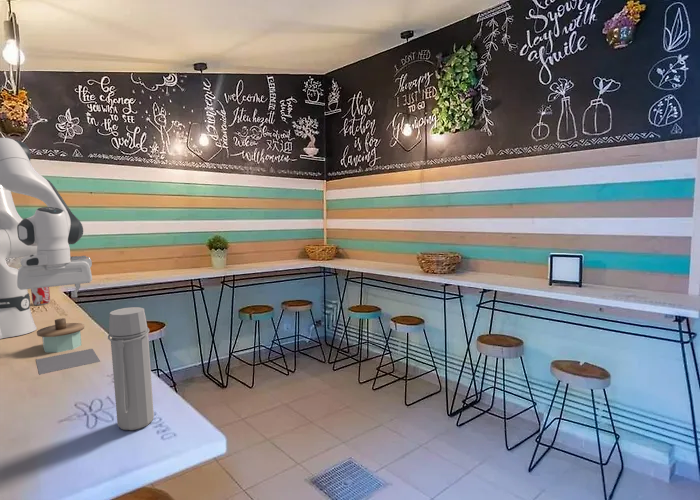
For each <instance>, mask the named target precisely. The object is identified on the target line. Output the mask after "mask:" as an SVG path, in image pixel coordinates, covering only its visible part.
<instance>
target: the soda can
mask: <svg viewBox="0 0 700 500" xmlns="http://www.w3.org/2000/svg"><path fill="white" fill-rule="evenodd" d="M30 292H31V303H32V304H33V305H34V306H44V305H49V303H50V302H51V292H50V287H44V288H37V292H36V293H37V294H38V295H42V299H43V301H42V302H37V297H36V296H35V295H34V294H33V292H32V289H30Z"/></svg>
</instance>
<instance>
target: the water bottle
mask: <svg viewBox="0 0 700 500" xmlns="http://www.w3.org/2000/svg"><path fill="white" fill-rule="evenodd" d="M108 319H109V322H108V323H109V324H108V335H107V340H109V341H110V345H111V346H110V347H111V348H110V349H111V359H112V362H111V363H112V371H113V373H112V374H113V375H112V376H113V385H114V387H113V388H114V398H115V409H116V410H115V411H116V422H117V424H116V425H117V427H119V429H121V430H123V431H136V430H140V429H142V428H144V427H147V426H148V425H150V424H151V423H152V422H153V420H154V417H155V412H154V411H155V410H154V398H153V383H152V369H151V368H152V367H151V358H150V357H151V356H150V355H151V354H150V341H149V340H150V339H149V333H150V328H149V327H148V324H147V323H148V322H147V316H146V313H145V308H144V307H140V306H139V307H138V306H137V307H134V306H133V307H123V308H118V309H115V310H111V311H110V312H109V318H108Z"/></svg>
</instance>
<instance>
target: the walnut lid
mask: <svg viewBox="0 0 700 500" xmlns="http://www.w3.org/2000/svg"><path fill="white" fill-rule="evenodd" d="M84 329H85V324H83V323H80V322H67V320H66V318H63V317H62V318H57V319H54V324H53V325H48V326H46V327H42V328H40V329H38V330H36V335H37V337H40V338H41V337H56V336H63V335H68V334H72V333H76V332H79V331H80V332H81V331H83V330H84Z"/></svg>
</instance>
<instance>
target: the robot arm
mask: <svg viewBox="0 0 700 500" xmlns="http://www.w3.org/2000/svg"><path fill="white" fill-rule="evenodd" d="M31 157H32V156H31V150H30V148H29V146H28V145H27V144H26V143H25V142H24V141H20V140H17V139H12V138H9V137H0V340H1V339H5V338H11V337H17V336H23V335H26V334H29V333H32V332H36V331H37V329H38V327H37V325H36V324H35V321H34V318H33V315H32V311H31V295H30V293H29V291H28V290H31V289H32V292H33V294H34V295H35V296H36V297H37V302H42V301H43V299H42V295H38V294H37V293H36V292H37V288H44V287H49V288H52V287H53V288H54V287H60V286H61V287H63V286H72V285H73V286H74V287H75V288H74V291H71V292H70V294H71V296H70V297H71V298H72V299H73V298H75V299H76V298H78V292H79V290H80V289H81V284H82V285H84V284H90V283H91V282H92V281H93V275H92V269H91V268H92V264H93V262H92V259H91V258H90V256H86V255H80V256H79V255H76V256H73V255H72V256H71V249H70V245H75V244H76V243H78V241H79V240H81V238H82V237H83V235H84V226H83V224H82V222H81V221H80V220H79V219H78V217H77V216H76V215H74V213H73V212H72V210H71V209H70V208H69V206H68V205H67V203H66V201H65V200H64V199H63V197H62V196H61V194H60V193H59V191H58V190H57V189H56V187H55V186H54V184H53V183H52V182H51V181H50V180H48V179H47V178H46V177H44V176H43V175H41V174H40V173H39V172H38V171H37V170H36V169H35V168H34V166H33V165H32V162H31ZM12 192H13V193H15V194H19V195H24V196H28V197H32V198H35V199H38V200H40V201H41V202H43V204H45V205H46V206H42V207H38V208H36V209H35V212H34V214H32V215H31V216H29V217H27V218H26V217H25V218H22V217H21V216H20V214H19V213H18V211H17V208H16V204H15V202H14V198H13V195H12ZM15 258H20V261H19V262H20V265H21V266H19V268H16V267H12V266H9V265H8V263H7V259H15Z"/></svg>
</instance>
